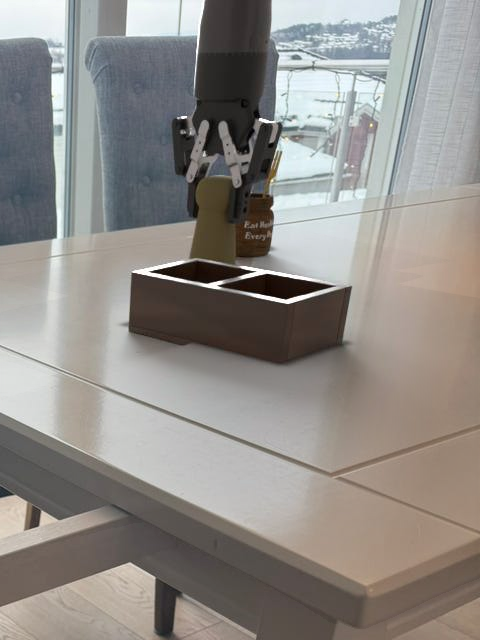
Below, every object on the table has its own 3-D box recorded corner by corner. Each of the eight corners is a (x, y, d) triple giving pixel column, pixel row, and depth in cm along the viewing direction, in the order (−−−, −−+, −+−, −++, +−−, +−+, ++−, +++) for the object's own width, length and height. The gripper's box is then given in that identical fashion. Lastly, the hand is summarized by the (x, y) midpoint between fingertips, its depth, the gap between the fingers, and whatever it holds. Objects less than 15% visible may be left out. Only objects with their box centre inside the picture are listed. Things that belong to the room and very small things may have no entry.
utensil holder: (214, 252, 125) (224, 151, 119) (251, 247, 127) (262, 148, 121) (244, 259, 121) (256, 155, 114) (281, 253, 123) (294, 152, 117)
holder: (190, 314, 98) (195, 257, 95) (341, 349, 86) (352, 285, 83) (128, 330, 93) (131, 271, 90) (278, 370, 81) (288, 303, 78)
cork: (174, 277, 112) (182, 176, 106) (205, 269, 116) (214, 171, 110) (215, 285, 109) (225, 181, 103) (246, 276, 112) (258, 175, 106)
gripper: (310, 47, 97) (286, 223, 106) (203, 48, 106) (189, 209, 115) (266, 48, 93) (245, 231, 102) (158, 49, 102) (148, 217, 111)
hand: (215, 219), depth 109 cm, fingers closed on cork, 5 cm apart
